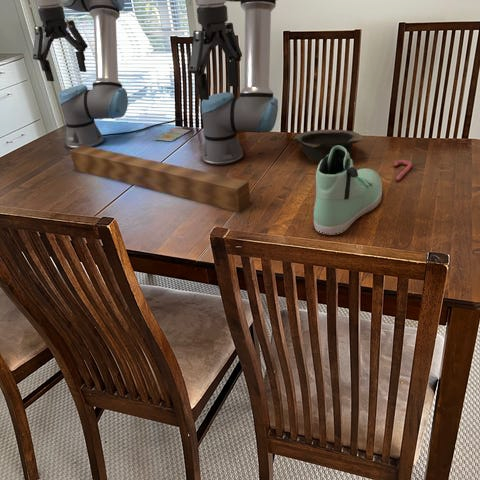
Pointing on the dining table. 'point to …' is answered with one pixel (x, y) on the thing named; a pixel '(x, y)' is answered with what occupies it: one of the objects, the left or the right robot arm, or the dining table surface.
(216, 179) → the beam
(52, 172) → the dining table surface
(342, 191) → the sneaker
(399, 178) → the candy cane
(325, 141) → the stone bowl
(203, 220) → the dining table surface
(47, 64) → the left robot arm
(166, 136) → the baking ingredient package
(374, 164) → the dining table surface
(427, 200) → the dining table surface
